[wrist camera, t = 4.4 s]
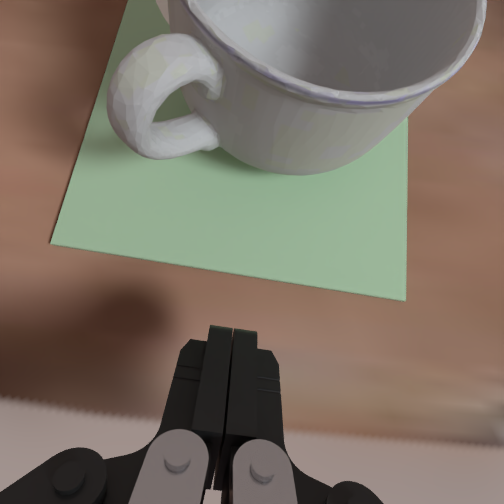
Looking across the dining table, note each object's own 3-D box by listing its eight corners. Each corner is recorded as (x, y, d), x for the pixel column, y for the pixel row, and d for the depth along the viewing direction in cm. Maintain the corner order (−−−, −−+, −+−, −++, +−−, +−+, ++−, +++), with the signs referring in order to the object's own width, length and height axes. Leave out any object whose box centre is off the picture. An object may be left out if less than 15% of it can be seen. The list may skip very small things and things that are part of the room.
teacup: (309, 3, 21) (368, -202, 13) (422, 149, 19) (568, 9, 11) (80, 92, 17) (-21, -113, 10) (189, 279, 16) (169, 209, 8)
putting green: (408, -88, 24) (430, -136, 22) (403, 301, 17) (436, 292, 14) (175, -144, 23) (171, -201, 21) (52, 244, 15) (23, 224, 13)
